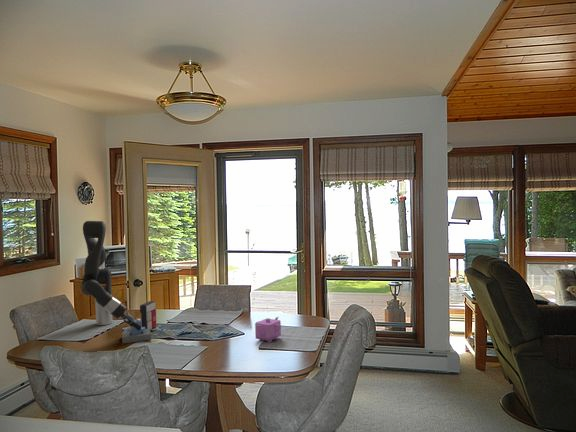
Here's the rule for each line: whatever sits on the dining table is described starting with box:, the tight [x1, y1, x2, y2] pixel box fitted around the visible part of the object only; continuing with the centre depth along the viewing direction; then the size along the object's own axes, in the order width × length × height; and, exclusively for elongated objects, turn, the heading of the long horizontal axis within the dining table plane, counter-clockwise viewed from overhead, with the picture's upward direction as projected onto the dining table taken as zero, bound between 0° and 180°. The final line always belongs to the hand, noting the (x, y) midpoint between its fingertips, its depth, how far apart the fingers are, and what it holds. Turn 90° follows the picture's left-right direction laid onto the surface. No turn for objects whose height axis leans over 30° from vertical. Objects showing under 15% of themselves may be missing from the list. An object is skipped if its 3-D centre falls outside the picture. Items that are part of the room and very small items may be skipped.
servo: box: [126, 318, 145, 335], centre depth 238 cm, size 4×9×9 cm, turn 109°
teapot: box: [254, 316, 282, 343], centre depth 230 cm, size 15×13×11 cm
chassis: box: [121, 329, 152, 344], centre depth 238 cm, size 12×14×3 cm
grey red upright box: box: [139, 300, 157, 330], centre depth 255 cm, size 11×4×15 cm, turn 168°
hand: (140, 327), depth 239 cm, fingers closed on servo, 4 cm apart
